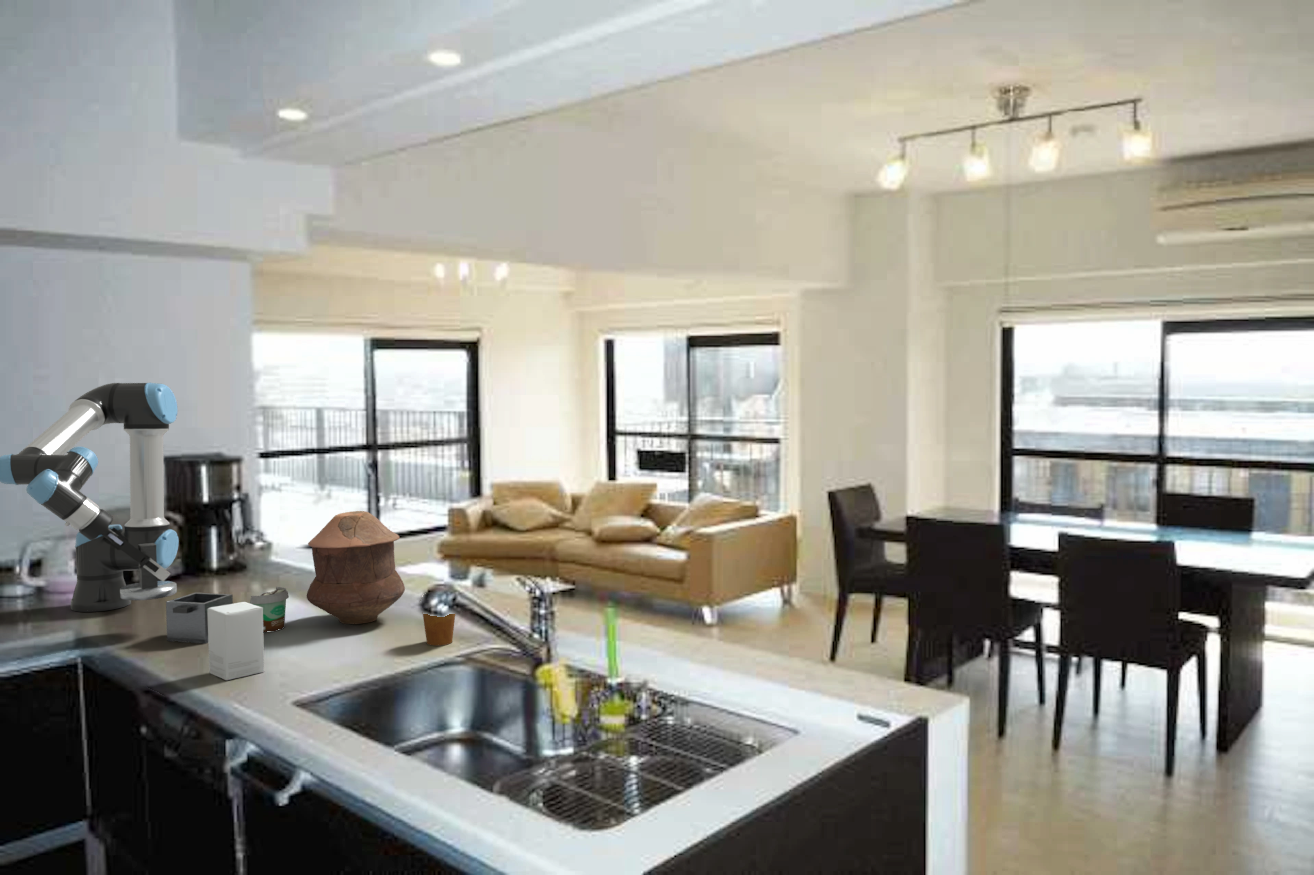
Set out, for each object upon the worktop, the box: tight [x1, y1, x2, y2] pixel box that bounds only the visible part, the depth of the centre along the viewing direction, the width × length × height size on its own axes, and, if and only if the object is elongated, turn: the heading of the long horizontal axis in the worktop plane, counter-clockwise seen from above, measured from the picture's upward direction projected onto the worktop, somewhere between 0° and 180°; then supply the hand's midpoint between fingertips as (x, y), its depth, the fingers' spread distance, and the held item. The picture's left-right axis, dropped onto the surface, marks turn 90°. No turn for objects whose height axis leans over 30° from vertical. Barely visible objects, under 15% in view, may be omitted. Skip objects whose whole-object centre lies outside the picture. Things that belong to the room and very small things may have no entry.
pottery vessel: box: [306, 510, 406, 625], centre depth 264 cm, size 26×26×30 cm
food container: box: [249, 586, 290, 633], centre depth 256 cm, size 12×6×10 cm, turn 168°
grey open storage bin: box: [165, 592, 234, 645], centre depth 248 cm, size 15×11×10 cm
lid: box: [120, 543, 178, 601], centre depth 251 cm, size 13×13×13 cm
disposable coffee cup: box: [419, 593, 456, 647], centre depth 243 cm, size 10×10×12 cm
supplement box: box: [207, 601, 265, 681], centre depth 218 cm, size 9×9×15 cm
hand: (164, 575), depth 253 cm, fingers closed on lid, 4 cm apart
